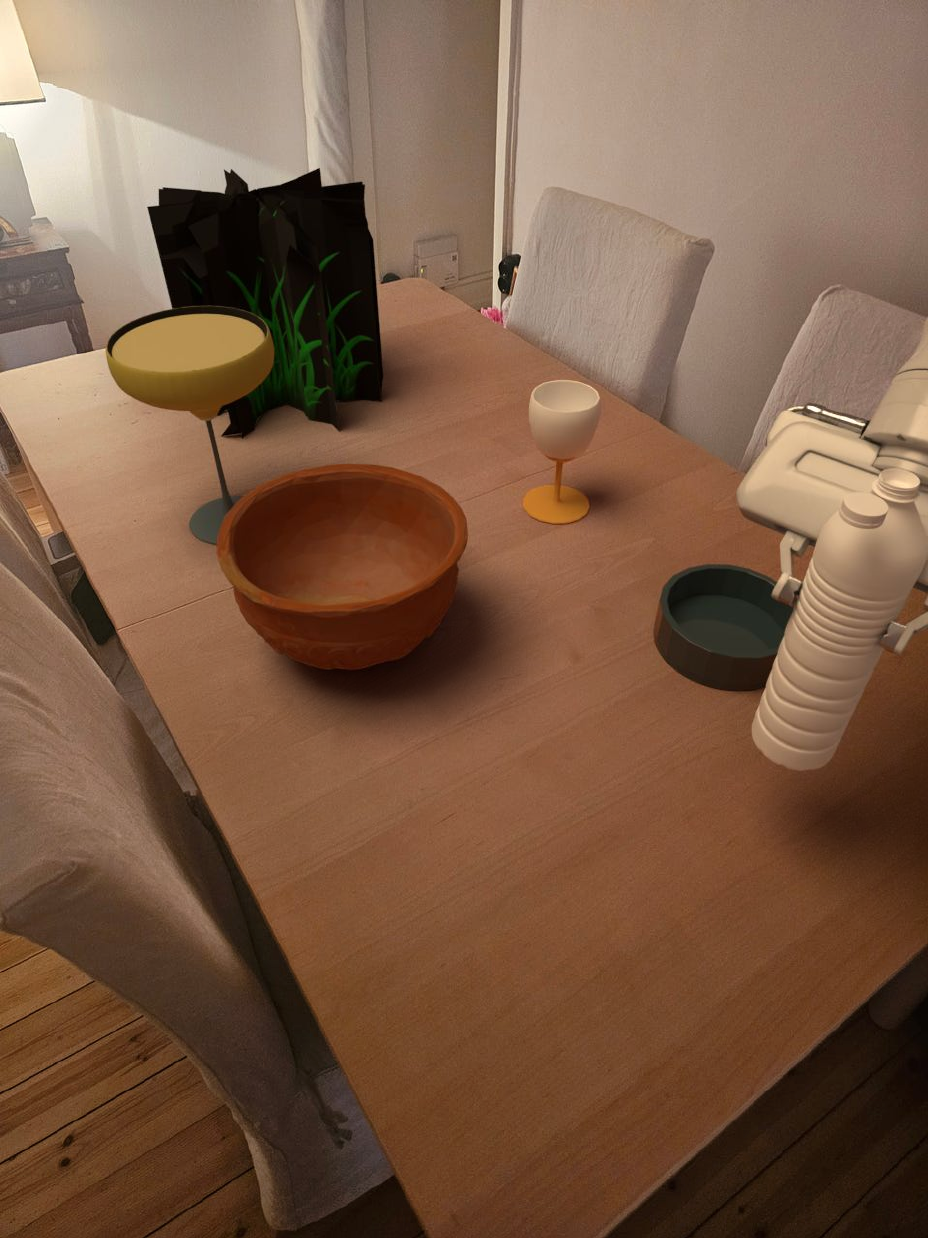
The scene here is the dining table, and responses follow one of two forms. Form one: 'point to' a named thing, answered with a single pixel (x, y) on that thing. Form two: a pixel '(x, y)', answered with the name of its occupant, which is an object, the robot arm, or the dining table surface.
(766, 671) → the holder
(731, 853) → the dining table surface
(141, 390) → the cocktail glass
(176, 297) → the decorative plant
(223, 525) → the bowl
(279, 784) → the dining table surface
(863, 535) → the water bottle
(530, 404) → the cup
